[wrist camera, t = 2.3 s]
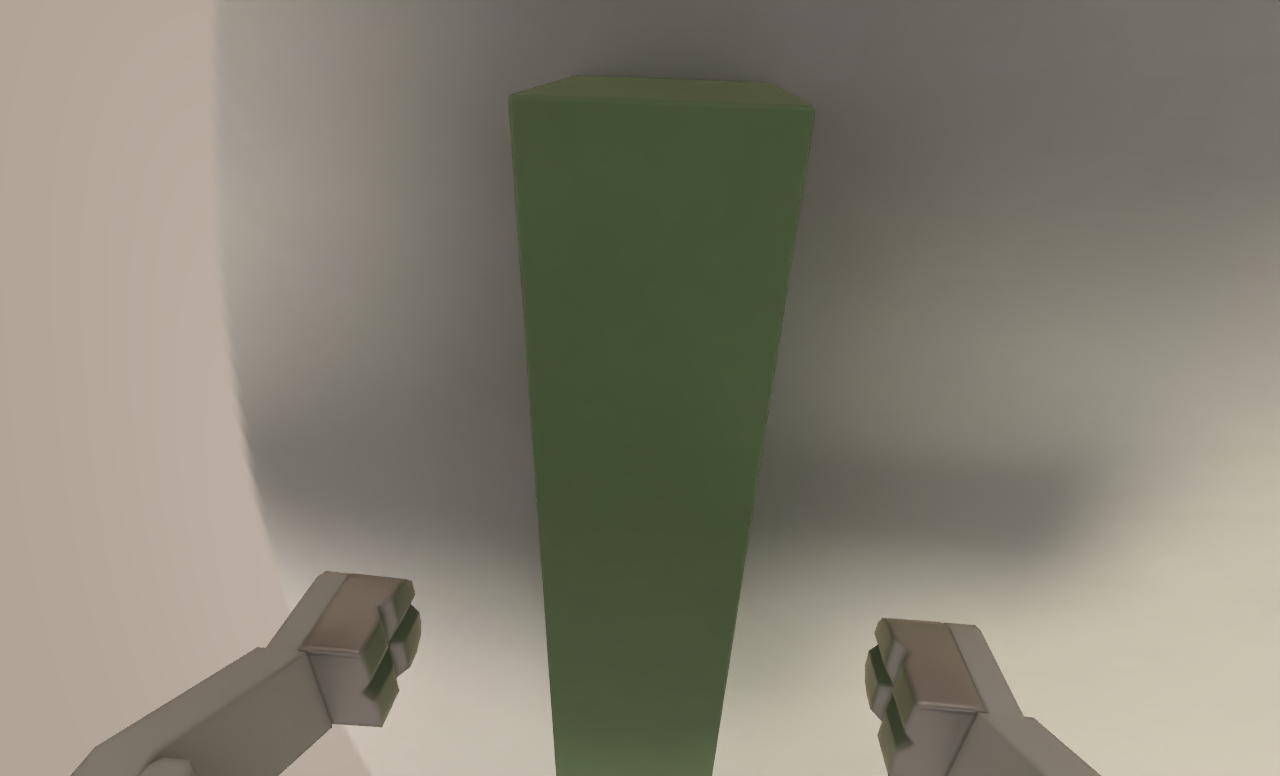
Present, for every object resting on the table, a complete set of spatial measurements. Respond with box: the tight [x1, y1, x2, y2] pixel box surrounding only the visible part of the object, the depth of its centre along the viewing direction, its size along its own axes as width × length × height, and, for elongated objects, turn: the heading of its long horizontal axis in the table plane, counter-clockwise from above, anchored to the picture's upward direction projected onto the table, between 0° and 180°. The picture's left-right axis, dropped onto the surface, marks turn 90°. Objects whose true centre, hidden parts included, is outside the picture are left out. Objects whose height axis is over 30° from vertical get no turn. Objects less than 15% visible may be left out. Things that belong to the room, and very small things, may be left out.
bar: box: [508, 75, 815, 776], centre depth 12 cm, size 16×3×4 cm, turn 178°
